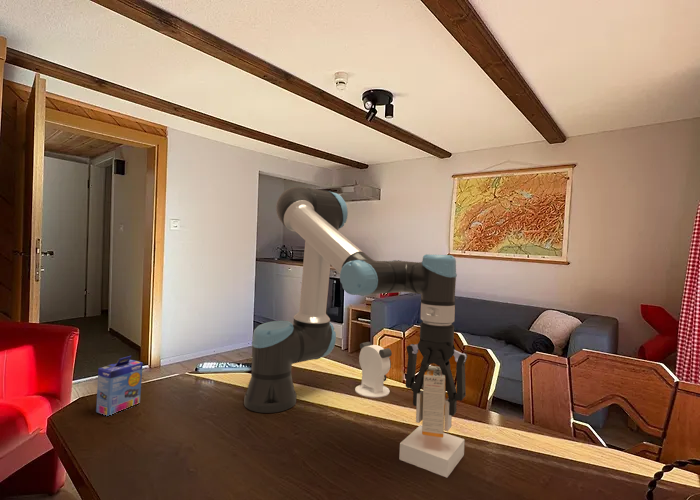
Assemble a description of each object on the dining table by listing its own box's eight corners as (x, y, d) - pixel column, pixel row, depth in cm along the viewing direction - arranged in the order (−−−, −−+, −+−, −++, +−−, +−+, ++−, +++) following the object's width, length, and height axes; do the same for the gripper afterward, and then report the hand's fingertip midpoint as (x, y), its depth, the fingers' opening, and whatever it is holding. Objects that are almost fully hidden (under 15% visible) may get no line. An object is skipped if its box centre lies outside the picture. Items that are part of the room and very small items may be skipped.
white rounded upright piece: (398, 393, 123) (399, 347, 123) (373, 401, 116) (375, 352, 116) (372, 382, 132) (374, 339, 132) (348, 389, 125) (349, 344, 125)
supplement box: (444, 438, 81) (446, 377, 81) (421, 435, 82) (423, 375, 82) (444, 422, 89) (446, 366, 89) (423, 419, 90) (425, 364, 90)
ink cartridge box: (108, 417, 99) (110, 362, 99) (94, 413, 101) (96, 359, 101) (142, 403, 108) (144, 353, 108) (128, 400, 110) (130, 350, 110)
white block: (399, 461, 84) (399, 443, 84) (419, 441, 93) (420, 425, 93) (447, 479, 78) (447, 460, 78) (463, 456, 87) (464, 439, 87)
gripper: (392, 319, 87) (388, 419, 87) (475, 331, 77) (471, 444, 77) (405, 315, 94) (401, 408, 94) (484, 325, 84) (480, 429, 84)
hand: (433, 424), depth 85 cm, fingers closed on supplement box, 6 cm apart
